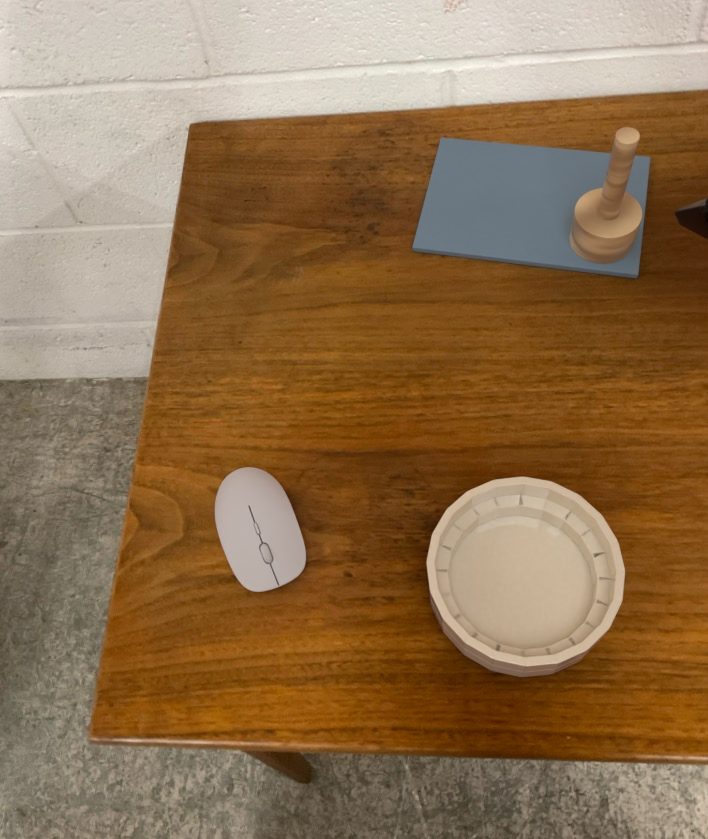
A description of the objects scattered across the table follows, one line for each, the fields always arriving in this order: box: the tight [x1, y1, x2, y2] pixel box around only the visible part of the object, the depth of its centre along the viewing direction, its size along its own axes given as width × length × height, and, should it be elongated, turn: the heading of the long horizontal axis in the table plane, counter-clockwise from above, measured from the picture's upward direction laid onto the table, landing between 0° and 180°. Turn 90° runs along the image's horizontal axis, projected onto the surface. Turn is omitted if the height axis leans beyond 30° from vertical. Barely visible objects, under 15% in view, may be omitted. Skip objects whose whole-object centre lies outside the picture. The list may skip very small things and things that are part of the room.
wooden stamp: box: [569, 126, 642, 264], centre depth 66 cm, size 6×6×12 cm
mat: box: [411, 136, 652, 279], centre depth 75 cm, size 20×14×1 cm
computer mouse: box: [214, 466, 307, 593], centre depth 61 cm, size 6×10×3 cm, turn 21°
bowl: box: [425, 476, 626, 678], centre depth 57 cm, size 13×13×4 cm
